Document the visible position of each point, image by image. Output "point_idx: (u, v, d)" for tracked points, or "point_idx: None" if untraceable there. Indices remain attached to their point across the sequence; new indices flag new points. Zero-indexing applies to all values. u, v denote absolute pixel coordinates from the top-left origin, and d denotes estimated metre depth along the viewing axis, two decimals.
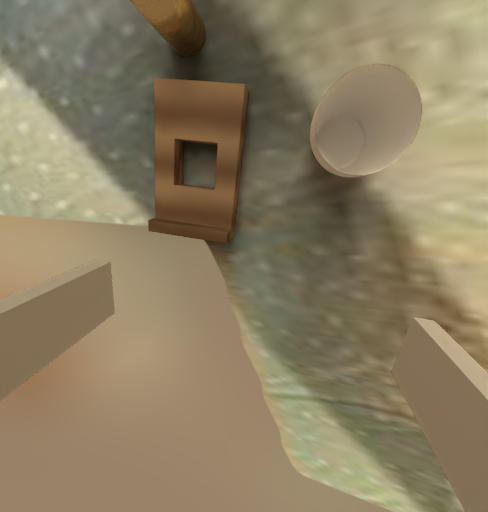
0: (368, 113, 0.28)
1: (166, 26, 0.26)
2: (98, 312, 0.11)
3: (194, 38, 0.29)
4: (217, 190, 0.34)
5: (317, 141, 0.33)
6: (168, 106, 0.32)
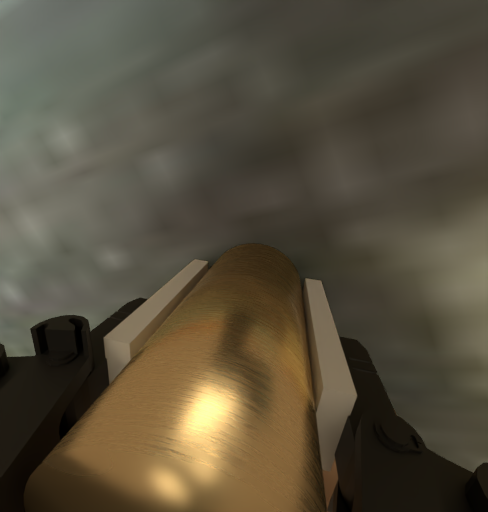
0: None
1: None
2: None
3: None
4: None
5: None
6: None
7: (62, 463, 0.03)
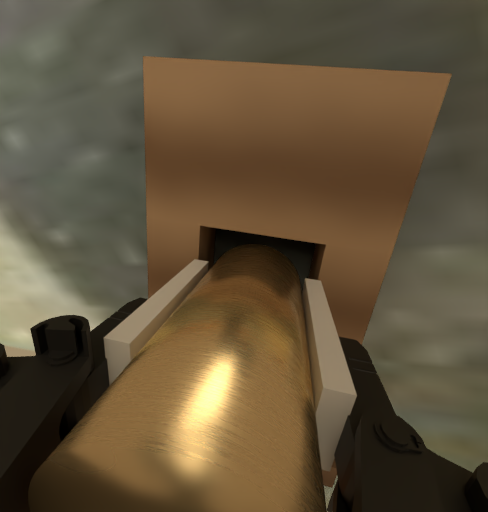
0: None
1: None
2: None
3: None
4: None
5: None
6: (185, 142, 0.11)
7: (67, 460, 0.03)
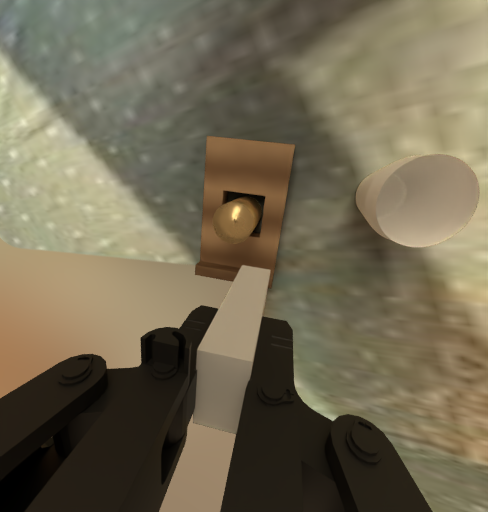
0: (412, 174, 0.30)
1: None
2: None
3: None
4: (262, 238, 0.36)
5: None
6: (219, 162, 0.34)
7: (221, 206, 0.28)
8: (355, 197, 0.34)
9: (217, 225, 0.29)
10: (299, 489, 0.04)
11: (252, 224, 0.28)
